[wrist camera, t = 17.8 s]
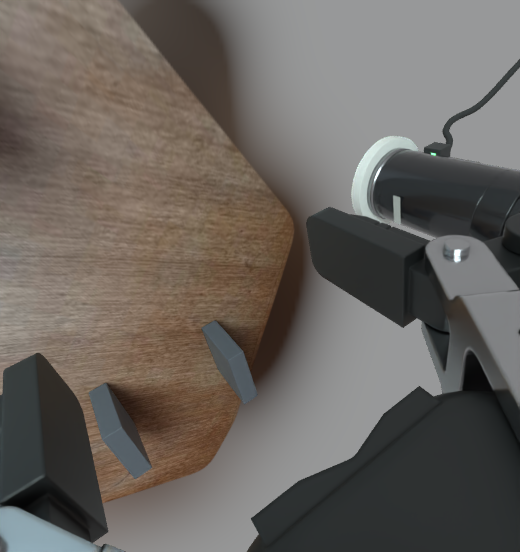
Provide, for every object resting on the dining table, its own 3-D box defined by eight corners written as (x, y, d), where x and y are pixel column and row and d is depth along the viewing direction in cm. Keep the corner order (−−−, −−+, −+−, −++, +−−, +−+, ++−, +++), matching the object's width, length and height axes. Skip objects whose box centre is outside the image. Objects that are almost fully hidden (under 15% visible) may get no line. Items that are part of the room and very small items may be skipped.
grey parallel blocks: (215, 319, 45) (243, 351, 40) (230, 362, 50) (258, 395, 45) (88, 392, 40) (102, 439, 35) (118, 432, 45) (135, 479, 39)
